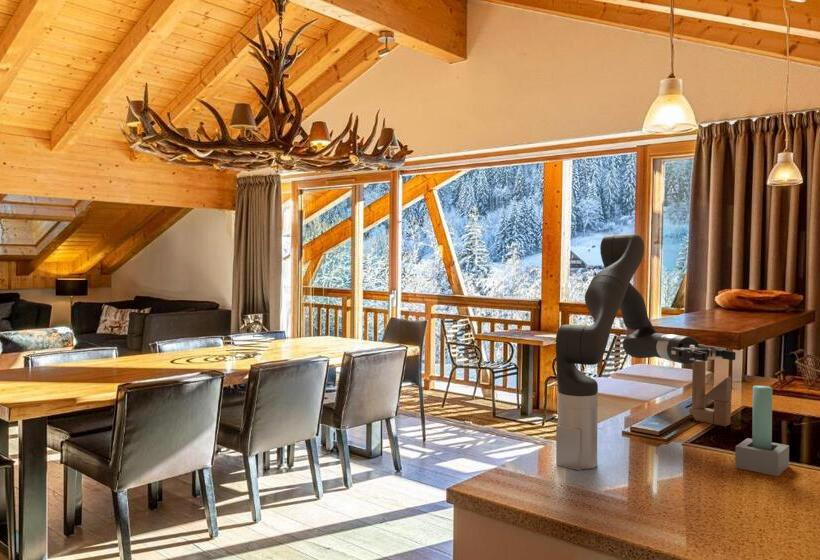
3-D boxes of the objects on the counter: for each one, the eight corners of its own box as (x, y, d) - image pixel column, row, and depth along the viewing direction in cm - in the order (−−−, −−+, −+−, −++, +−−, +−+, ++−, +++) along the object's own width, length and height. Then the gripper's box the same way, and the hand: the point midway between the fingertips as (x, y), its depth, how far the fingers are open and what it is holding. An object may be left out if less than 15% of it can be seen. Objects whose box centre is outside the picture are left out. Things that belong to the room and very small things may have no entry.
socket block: (778, 476, 146) (778, 454, 146) (735, 467, 152) (735, 446, 152) (788, 466, 153) (789, 445, 152) (747, 458, 159) (747, 438, 159)
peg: (768, 467, 150) (769, 389, 149) (749, 463, 152) (750, 387, 152) (773, 463, 153) (774, 387, 152) (754, 459, 155) (755, 384, 155)
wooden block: (725, 426, 187) (727, 364, 186) (688, 419, 195) (689, 360, 194) (731, 424, 189) (732, 363, 189) (694, 417, 197) (695, 358, 197)
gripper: (655, 335, 178) (697, 342, 162) (699, 334, 182) (744, 341, 166) (655, 362, 178) (696, 372, 163) (698, 361, 182) (743, 370, 167)
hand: (720, 356), depth 165 cm, fingers open, 8 cm apart
